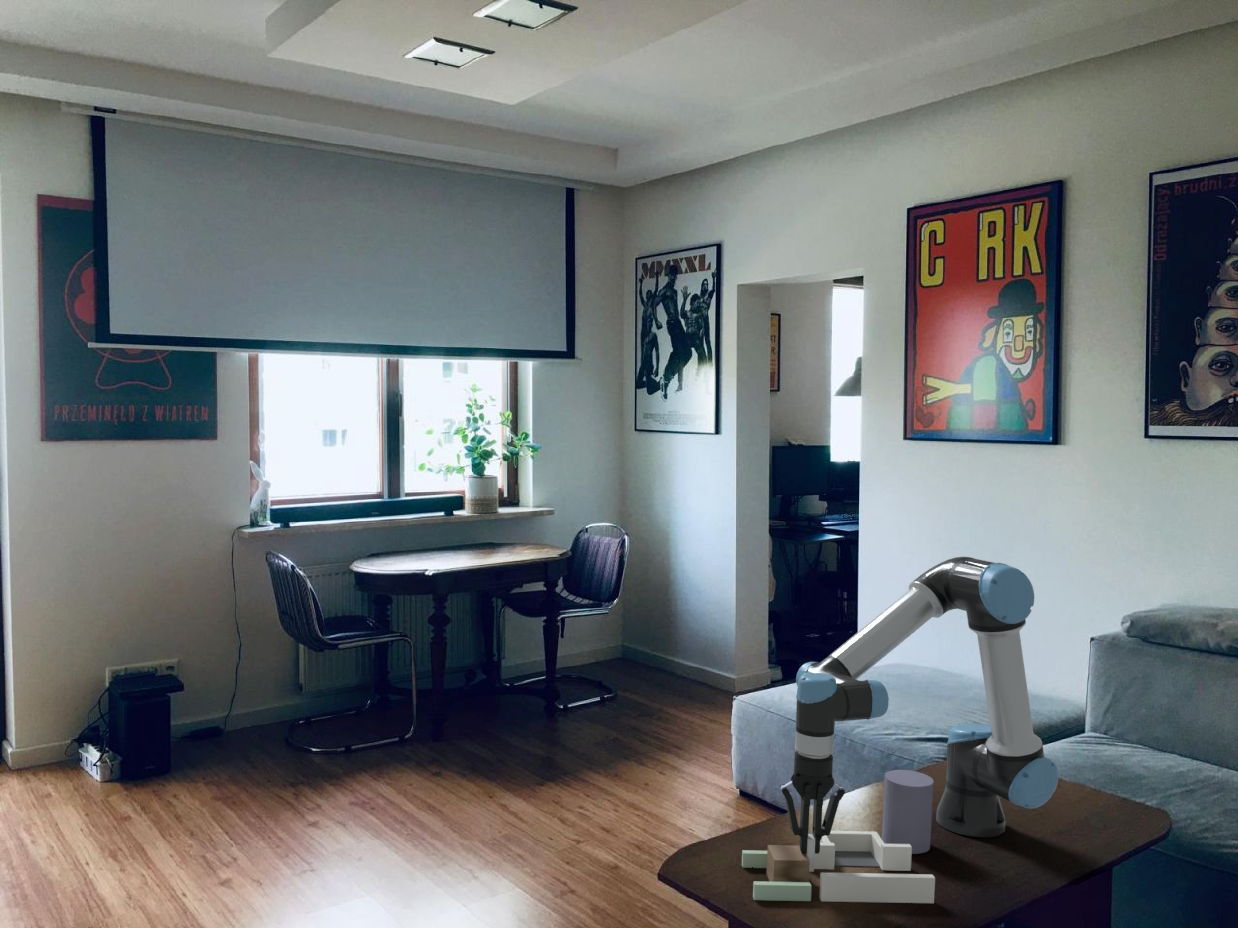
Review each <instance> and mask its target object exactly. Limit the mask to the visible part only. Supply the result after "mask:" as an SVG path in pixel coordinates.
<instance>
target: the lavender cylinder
mask: <svg viewBox="0 0 1238 928" xmlns="http://www.w3.org/2000/svg"><path fill="white" fill-rule="evenodd" d="M883 786H884V787H883V801H882V802H883V803H882V805H883V806H882V824H881V825H882V827H881V839H882V840H883V842H884V843H885V844H910V845H911V847H912V855H918V854H919V855H920V854H923V853H927V852H928V851H930V849H931V840H932V839H931V837H932V818H933V802H934V801H933V800H934V799H933V798H934V797H933V796H934V779H933V778H932V777H931V776H929V775H927V774H926V773H922V772H919V771H916V770H915V771H914V770H907V769H894V770H890V771H889V770H888V771H887V772H885V773H884V785H883Z"/></svg>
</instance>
